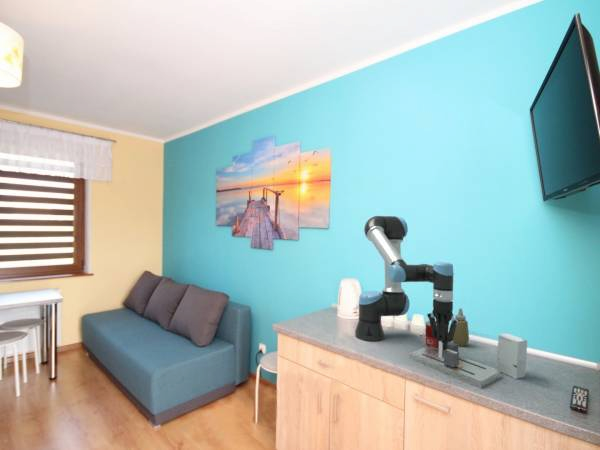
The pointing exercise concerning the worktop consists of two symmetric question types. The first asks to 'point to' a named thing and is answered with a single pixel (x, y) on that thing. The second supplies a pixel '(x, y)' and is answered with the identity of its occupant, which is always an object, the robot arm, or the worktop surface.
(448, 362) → the fader
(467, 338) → the squeeze bottle
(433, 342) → the canned food
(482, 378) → the console
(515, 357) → the skincare box
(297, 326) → the worktop surface
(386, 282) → the robot arm
